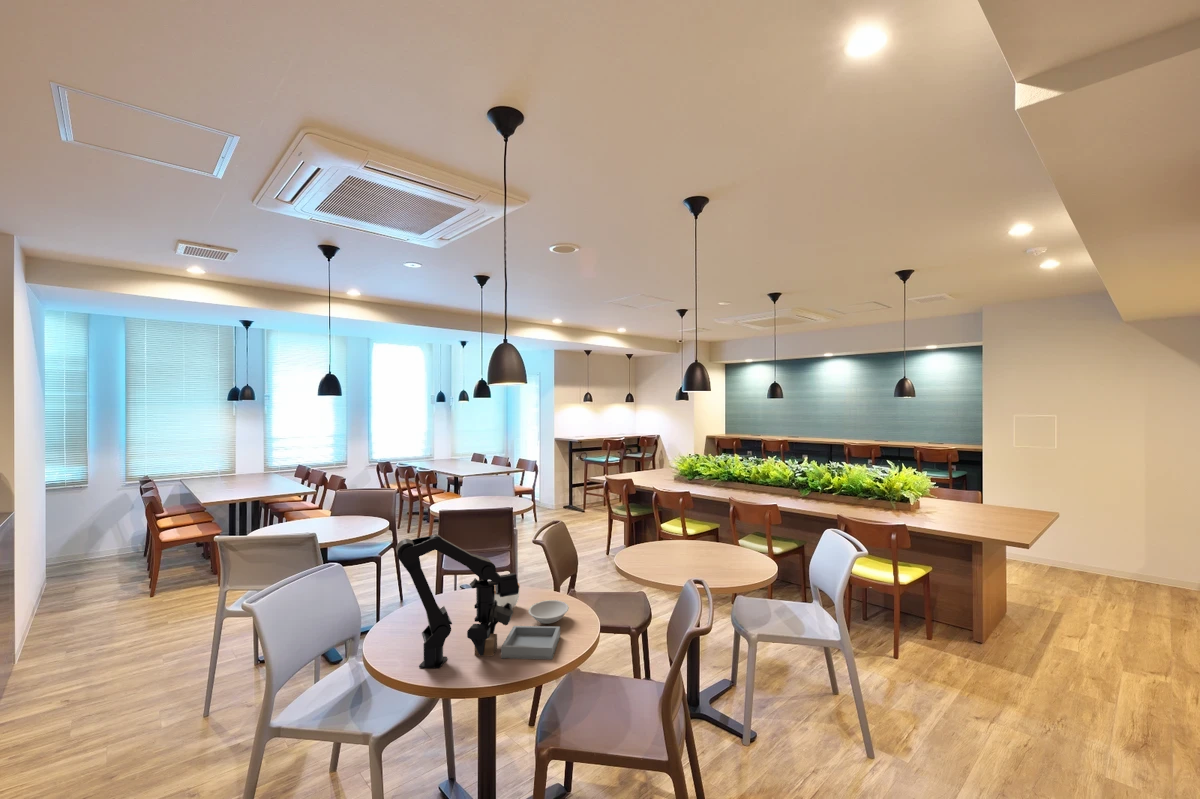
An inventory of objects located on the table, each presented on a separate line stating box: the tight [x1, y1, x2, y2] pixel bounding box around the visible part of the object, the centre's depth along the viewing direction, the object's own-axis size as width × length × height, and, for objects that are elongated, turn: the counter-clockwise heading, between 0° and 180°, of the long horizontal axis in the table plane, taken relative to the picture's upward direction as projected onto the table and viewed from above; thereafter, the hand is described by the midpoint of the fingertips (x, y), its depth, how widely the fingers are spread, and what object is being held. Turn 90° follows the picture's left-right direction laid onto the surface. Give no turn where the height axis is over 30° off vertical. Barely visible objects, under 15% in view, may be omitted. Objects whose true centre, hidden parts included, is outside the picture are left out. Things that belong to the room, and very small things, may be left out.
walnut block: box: [474, 633, 498, 657], centre depth 165 cm, size 4×6×5 cm
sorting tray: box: [500, 625, 561, 660], centre depth 168 cm, size 16×16×4 cm
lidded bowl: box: [495, 582, 521, 609], centre depth 201 cm, size 13×13×11 cm
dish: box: [528, 599, 570, 625], centre depth 187 cm, size 18×14×5 cm
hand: (486, 648), depth 165 cm, fingers open, 9 cm apart
